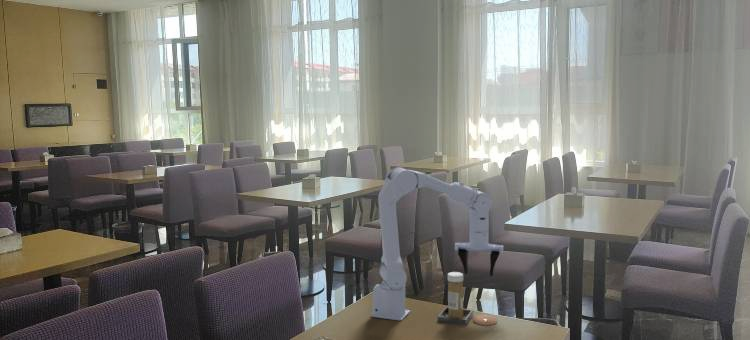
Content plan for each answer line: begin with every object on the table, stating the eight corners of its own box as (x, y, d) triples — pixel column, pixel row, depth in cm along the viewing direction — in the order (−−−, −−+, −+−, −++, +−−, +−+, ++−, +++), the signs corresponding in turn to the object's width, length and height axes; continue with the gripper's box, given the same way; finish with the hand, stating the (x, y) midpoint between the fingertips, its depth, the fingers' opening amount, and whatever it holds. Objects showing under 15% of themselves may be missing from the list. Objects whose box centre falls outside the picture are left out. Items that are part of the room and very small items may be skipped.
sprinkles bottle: (466, 318, 168) (466, 274, 167) (454, 322, 166) (454, 276, 164) (456, 314, 172) (456, 270, 170) (444, 317, 170) (444, 273, 168)
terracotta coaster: (470, 323, 165) (470, 321, 165) (475, 314, 171) (475, 313, 171) (494, 326, 162) (494, 324, 162) (499, 318, 168) (499, 316, 168)
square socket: (437, 321, 167) (437, 316, 166) (445, 311, 174) (445, 306, 174) (466, 325, 163) (466, 320, 163) (473, 314, 171) (473, 310, 171)
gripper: (453, 232, 174) (453, 276, 175) (502, 234, 169) (501, 279, 171) (457, 227, 180) (456, 269, 182) (504, 229, 176) (503, 272, 178)
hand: (478, 274), depth 177 cm, fingers open, 7 cm apart
